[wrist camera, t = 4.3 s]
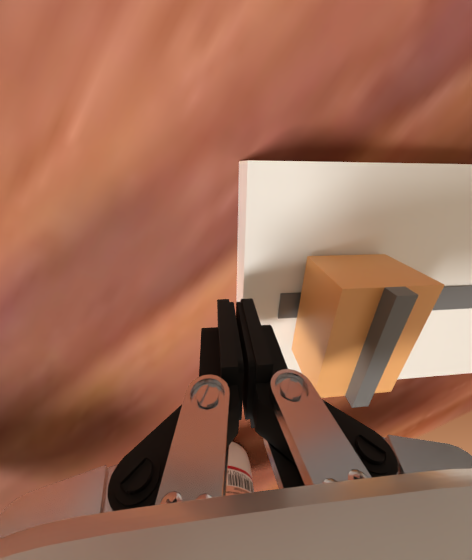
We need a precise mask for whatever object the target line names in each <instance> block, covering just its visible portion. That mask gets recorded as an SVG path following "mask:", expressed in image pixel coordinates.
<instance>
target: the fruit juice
mask: <svg viewBox="0 0 472 560" xmlns="http://www.w3.org/2000/svg"><path fill="white" fill-rule="evenodd" d="M252 492H254V488H253V481H252V474H251V466H250V462H249V458H248V455H247V453H246V451H245V450H244V448H243V447H241V446H240V445H239V444H237V443H235V442H231V443H230V445H229V456H228V471H227V486H226V496H229V495H237V494H245V493H252Z"/></svg>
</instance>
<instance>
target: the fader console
mask: <svg viewBox="0 0 472 560" xmlns="http://www.w3.org/2000/svg"><path fill="white" fill-rule="evenodd" d="M368 254H386V255H388V256H390V257H392V258H394V259H396V260H398V261H400V262H402V263H403V264H405V265H407V266H409V267H411V268H413V269H415V270H417V271H419V272H421V273H423V274H425V275H427V276H429V277H431V278H433V279H435V280H437V281H438V282H440V283H442V284H444V285H445V286H444V288H443V290H442V291H441V293H440V295H439V297H438V299H437V301H436V303H435V305H434V307H433V309H432V311H431V313H430V315H429V317H428V319H427V321H426V323H425V325H424V327H423V329H422V331H421V333H420V335H419V337H418V339H417V341H416V343H415V345H414V347H413V349H412V351H411V353H410V355H409V357H408V359H407V361H406V363H405V365H404V367H403V369H402V371H401V373H400V375H399V377H398V379H407V378H418V377H430V376H442V375H454V374H465V373H472V164H427V163H369V162H312V161H255V160H246V161H239V191H238V248H237V302H241V299H249V298H252V299H253V301H254V304H255V307H256V311H257V314H258V317H259V320H260V323H261V325H271V326H272V328H273V331H274V333H275V336H276V339H277V341H278V344H279V346H280V349H281V352H282V354H283V357H284V360H285V362H286V365H287V367H288V369H291V370H296V371H298V372H300V373H302V372H301V370H300V368H299V365H298V363H297V361H296V359H295V356H294V354H293V352H292V344H293V338H294V332H295V326H296V320H297V314H298V309H299V303H300V297H301V291H302V285H303V279H304V274H305V268H306V262H307V256H329V255H368Z"/></svg>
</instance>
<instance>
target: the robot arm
mask: <svg viewBox="0 0 472 560" xmlns="http://www.w3.org/2000/svg"><path fill="white" fill-rule="evenodd" d="M217 308H218V327H216V328H202V331H201V350H200V369H199V377H198V378H196V379H195V380H193V381H192V382H191V383H190V385H189V386H188V388H187V390H186V393H185V396H184V400H183V404H182V405H181V406H180V407H179V408H178V409H176V410H175V411H174V412H173V413H172V414H171V415H170V416H169V417H168V418H167V419H166V420H164V421H163V422H162V423H161V424H160V425H159V426H158V427H157V428H156V429H155V430H153V431H152V432H151V433H150V434H149V435H148V436H147V437H146V438H145V439H144V440H143V441H141V442H140V443H139V444H138V445H137V446H136V447H135V448H134V449H133V450H132V451H131V452H129V453H128V454H127V455H126V456H125V457H124V458H123V459H122V460H121V462H120V463H119V464H117V465H114V466H112V467H109V468H107V466H106V465H104V466H102V467H99V468H96V469H93V470H90V471H87V472H85V473H82V474H79V475H76V476H73V477H70V478H68V479H65V480H62V481H59V482H56V483H53V484H51V485H48V486H45V487H42V488H39V489H36V490H34V491H31V492H28V493H27V494H25V495H23V496H21V497H19V498H17V499H16V500H15V501H13V502H12V503H11V504H10V505H9V506H7V507H6V508H5V509H4V510H3V511H2V512H1V514H0V560H472V456H471V455H470V454H469V453H467V452H466V451H464V450H462V449H460V448H459V447H456V446H453V445H450V444H445V443H439V442H432V441H425V440H419V439H412V438H406V437H399V436H392V435H388V436H387V437H386V438H384V437H382V436H380V435H379V434H377V433H376V432H375V431H373V430H372V429H370V428H368V427H367V426H365V425H363V424H362V423H360V422H358V421H357V420H355V419H353V418H352V417H350V416H348V415H347V414H345V413H344V412H342V411H340V410H339V409H337V408H335V407H334V406H332V405H330V404H329V403H327V402H325V401H324V400H322V399H321V397H320V396H319V394H318V392H317V391H316V389H315V388H314V386H313V385H312V383H311V382H310V380H309V379H308V378H307V377H306V376H305V375H303V374H302V373H300V372H298V371H296V370H291V369H288V367H287V365H286V362H285V360H284V357H283V354H282V352H281V349H280V346H279V344H278V341H277V339H276V336H275V333H274V331H273V328H272V326H271V325H261V323H260V320H259V317H258V314H257V311H256V307H255V304H254V301H253V299H252V298H249V299H241V302H237V304H236V314H235V309H234V303H233V302H229V299H223V300H217ZM242 400H243V408H244V415H245V419H250V422H251V428H255V431H256V432H257V433H258V434H259V435H260V436H262V437H263V440H264V445H265V448H266V451H267V454H268V457H269V460H270V463H271V466H272V469H273V472H274V475H275V478H276V481H277V484H278V487H279V489H276V490H268V491H260V492H252V493H245V494H237V495H229V496H226V486H227V471H228V456H229V445H230V443H231V442H232V441H233V439H234V438H235V437H236V435H237V434H238V428H239V420H241V418H242Z"/></svg>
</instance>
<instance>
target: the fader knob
mask: <svg viewBox="0 0 472 560" xmlns="http://www.w3.org/2000/svg"><path fill="white" fill-rule="evenodd" d="M444 286H445V285H444V284H442V283H440V282H438V281H437V280H435V279H433V278H431V277H429V276H427V275H425V274H423V273H421V272H419V271H417V270H415V269H413V268H411V267H409V266H407V265H405V264H403V263H402V262H400V261H398V260H396V259H394V258H392V257H390V256H388V255H386V254H368V255H329V256H307V262H306V268H305V274H304V279H303V285H302V291H301V297H300V303H299V309H298V314H297V320H296V326H295V332H294V338H293V344H292V352H293V354H294V356H295V359H296V361H297V363H298V365H299V368H300V370H301V372H302V374H303V375H305V376H306V377H307V378H308V379H309V380H310V382H311V383H312V385H313V386H314V388H315V389H316V391H317V392H318V394H319V396H320V397H321V398H326V397H337V396H345V397H346V398H347V400H348V402H349V403H350V405H351V407H352V408H354V407H364V406H369V403H370V401H371V399H372V397H373V395H374V393H381V392H391V391H392V389H393V387H394V385H395V383H396V381H397V379H398V377H399V375H400V373H401V371H402V369H403V367H404V365H405V363H406V361H407V359H408V357H409V355H410V353H411V351H412V349H413V347H414V345H415V343H416V341H417V339H418V337H419V335H420V333H421V331H422V329H423V327H424V325H425V323H426V321H427V319H428V317H429V315H430V313H431V311H432V309H433V307H434V305H435V303H436V301H437V299H438V297H439V295H440V293H441V291H442V290H443V288H444Z"/></svg>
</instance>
